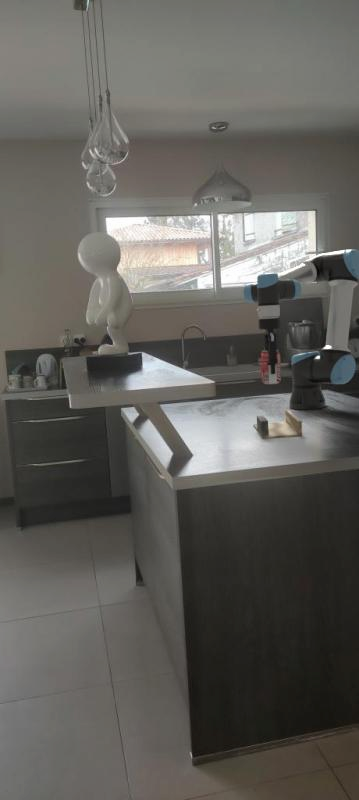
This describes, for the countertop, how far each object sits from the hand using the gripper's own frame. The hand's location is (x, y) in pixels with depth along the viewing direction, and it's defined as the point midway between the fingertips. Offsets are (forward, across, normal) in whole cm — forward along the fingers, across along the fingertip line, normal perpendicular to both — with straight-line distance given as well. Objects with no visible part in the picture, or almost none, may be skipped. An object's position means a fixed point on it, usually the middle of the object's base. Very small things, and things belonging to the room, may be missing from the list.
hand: (271, 381), depth 209 cm
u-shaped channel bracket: (+17, +5, 0) cm, 18 cm away
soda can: (+1, 0, 0) cm, 1 cm away
